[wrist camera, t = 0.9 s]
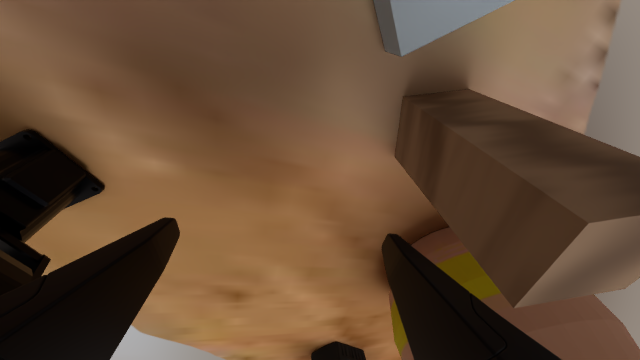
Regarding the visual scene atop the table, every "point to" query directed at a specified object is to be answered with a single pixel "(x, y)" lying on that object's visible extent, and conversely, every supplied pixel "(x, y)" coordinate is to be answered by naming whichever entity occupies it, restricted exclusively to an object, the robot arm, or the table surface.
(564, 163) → the post
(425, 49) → the table surface
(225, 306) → the table surface
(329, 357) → the cordless drill
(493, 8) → the plinth
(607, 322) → the vase
